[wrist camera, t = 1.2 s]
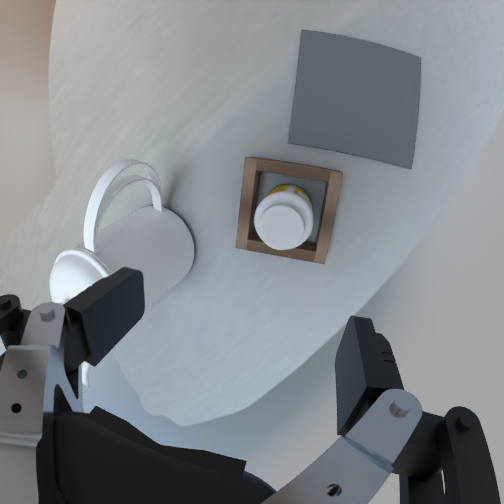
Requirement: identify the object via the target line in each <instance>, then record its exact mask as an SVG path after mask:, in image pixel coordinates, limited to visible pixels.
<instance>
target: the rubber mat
mask: <svg viewBox="0 0 504 504" xmlns="http://www.w3.org/2000/svg"><path fill="white" fill-rule="evenodd" d="M420 82H421V57H418V56H415V55H412V54H410V53H407V52H404V51H400V50H397V49H394V48H391V47H387V46H384V45H380V44H376V43H373V42H369V41H364V40H360V39H356V38H351V37H346V36H341V35H336V34H330V33H324V32H317V31H309V30H302V31H301V41H300V50H299V59H298V68H297V77H296V85H295V94H294V102H293V110H292V118H291V126H290V134H289V141H288V143H291V144H298V145H304V146H310V147H316V148H322V149H327V150H332V151H338V152H342V153H347V154H352V155H357V156H361V157H365V158H370V159H374V160H378V161H382V162H386V163H390V164H394V165H397V166H401V167H405V168H408V169H412V163H413V157H414V150H415V142H416V134H417V125H418V114H419V101H420Z"/></svg>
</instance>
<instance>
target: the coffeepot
mask: <svg viewBox="0 0 504 504" xmlns="http://www.w3.org/2000/svg"><path fill="white" fill-rule="evenodd" d="M133 164H141V165H142V166H143V167H144V168H145V170H146V171H147V173H148V175H149V178H150V180H149V179H147V178H144V177H141V176H137V175H131V176H127V177H124V178H121V179H119V180H118V181H116V182H114V183H113V184H112V185H111V183H112V182H113V180H114V179H115V178H116V177H117V176H118V175H119V173H121V172H122V171H123V170H124V169H126V168H127V167H129V166H131V165H133ZM140 180H144V181H145V183H146V184H147V185H148V187H149V189H150V191H151V193H152V203H153V206H147V207H143V208H140V209H138V210H136V211H134V212H133V213H131V214H129V215H127V216H126V217H124V218H122V219H120V220H119V221H117V222H115V223H113V224H112V225H110V226H108V227H107V228H105V229H103V230H102V231H100V232H98V233H97V230H98V227H99V224H100V221H101V219H102V217H103V215H104V213H105V211H106V209H107V207H108V206H109V204H110V202H111V201H112V200H113V198H114V197H115V196H116V195H117V194H118V193H119V192H120V191H121V190H122V189H123V188H125V187H126V186H128V185H129V184H131V183H133V182H136V181H140ZM193 260H194V243H193V239H192V236H191V234H190V231H189V229H188V228H187V226H186V225H185V223H184V222H183V221H182V220H181V218H179V217H178V216H177V215H176V214H175V213H173V212H172V211H170V210H168V209H167V208H164V207H162V190H161V184H160V180H159V177H158V175H157V173H156V171H155V170H154V168H153V167H152V166H150V165H149V164H147V163H145V162H141V161H138V160H134V159H124V160H122V161H120V162H117V163H116V164H114V165H113V166H112V167H110V168H109V169H108V170H107V171H106V172H105V174H104V175H103V176H102V177H101V179H100V180H99V182H98V183H97V185H96V187H95V189H94V191H93V193H92V195H91V198H90V201H89V204H88V207H87V211H86V216H85V223H84V242H82V243H81V244H79V245H78V246H76V247H74V248H70V249H67V250H65V251H63V252H62V253H61V254H60V255H59V256H58V257H57V259H56V261H55V263H54V267H53V269H52V271H51V275H50V292H51V297H52V300H53V302H55V303H59V304H61V305H63V304H65V303H66V302H68V301H69V300H70V299H72V298H73V297H75V296H76V295H78V294H79V293H80V292H82V291H83V290H84V291H85V289H86V288H88V287H89V286H92V284H94V283H95V282H97V281H98V280H100V279H102V278H105V277H108V276H110V275H112V274H113V273H115V272H116V271H118V270H119V269H121V268H122V267H128V268H132V269H136V270H140V271H141V272H142V273H143V278H144V296H145V310H146V309H147V308H148V307H149V306H151V305H152V304H153V303H154V302H155V301H157V300H158V299H159V298H160V297H162V296H163V295H164V294H165V293H166V292H168V291H169V290H170V289H171V288H173V287H174V286H175V285H176V284H177V283H179V282H180V281H181V280H182V279H183V278H184V277H185V276H186V275H187V274H188V272H189V271H190V269H191V267H192V264H193ZM145 310H144V311H145ZM90 365H91V364H89V363H87V362H85V361H84V363H83V366H82V383H83V384H85V385H87V386H88V387H89V383H88V372H89V368H90Z"/></svg>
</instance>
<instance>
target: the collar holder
mask: <svg viewBox="0 0 504 504" xmlns="http://www.w3.org/2000/svg"><path fill="white" fill-rule="evenodd" d="M260 171H264V172H271V173H278V174H284V175H290V176H297V177H303V178H308V179H314V180H320V181H325V182H327V183H326V189H325V195H324V201H323V206H322V212H321V217H320V223H319V228H318V233H317V238H316V243H313V242H307V241H305V242H303V243H302V244H301V245H299V246H298V247H295V248H292V249H287V250H277V249H273V248H271V247H269V246H268V245H267V244H265V243H264V241H263V240H262V239H261V238H260V237H259V235H258V233H256V232H253V226H254V216H255V210H256V202H257V194H258V186H259V178H260ZM342 174H343V173H342V172H340V171H337V170H332V169H326V168H321V167H315V166H310V165H304V164H298V163H291V162H285V161H278V160H271V159H264V158H256V157H245V165H244V173H243V182H242V191H241V200H240V209H239V219H238V228H237V238H236V247H235V248H238V249H244V250H249V251H255V252H260V253H266V254H271V255H277V256H282V257H288V258H293V259H298V260H304V261H309V262H315V263H320V264H325V261H326V257H327V252H328V248H329V243H330V238H331V233H332V229H333V224H334V219H335V213H336V208H337V203H338V197H339V192H340V186H341V180H342Z"/></svg>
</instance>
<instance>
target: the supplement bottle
mask: <svg viewBox="0 0 504 504" xmlns="http://www.w3.org/2000/svg"><path fill="white" fill-rule="evenodd" d="M254 224H255V229H256V231H257V233H258V235H259V237H260V238H261V239H262V240H263V241H264V243H265V244H267V245H268V246H269V247H271V248H273V249H277V250H287V249H292V248H295V247H298V246H299V245H301V244H302V243H303V242H305V241H306V239H307V238H308V237H309V235H310V233H311V231H312V227H313V211H312V203H311V199H310V197H309V195H308V194H307V192H306V191H305V190H304V189H302V188H301V187H299V186H297V185H294V184H282V185H279V186H277V187H275V188H274V189H273V190H271V191H270V193H269V194H268V195H267V196H266V197H265V198H264V199H263V200H262V201H261V202H260V204H259V205H258V207H257V209H256V212H255V216H254Z"/></svg>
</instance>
